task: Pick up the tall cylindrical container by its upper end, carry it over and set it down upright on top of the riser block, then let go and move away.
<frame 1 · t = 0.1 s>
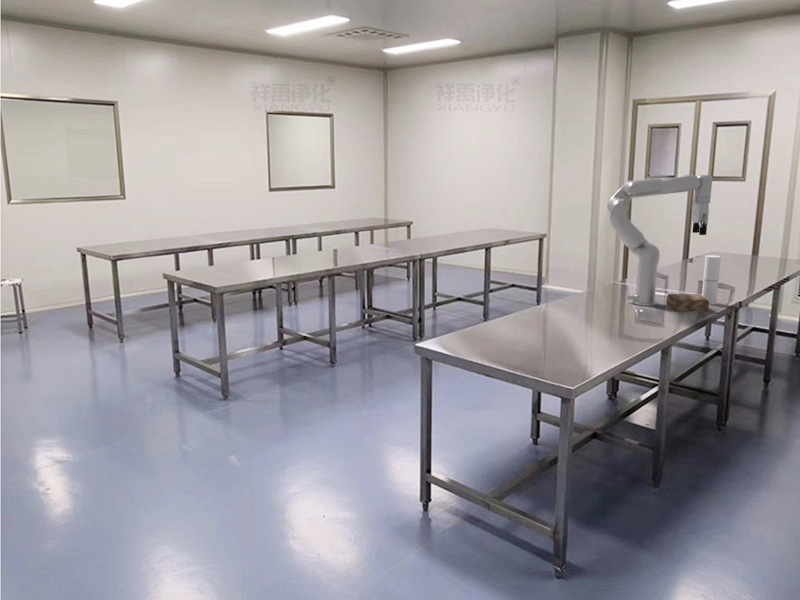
hand: (699, 233, 323), 37 cm above the table, tool pointing down, fingers open, 9 cm apart
riser: (686, 308, 322), on the table
cylindrical container: (708, 303, 332), on the table
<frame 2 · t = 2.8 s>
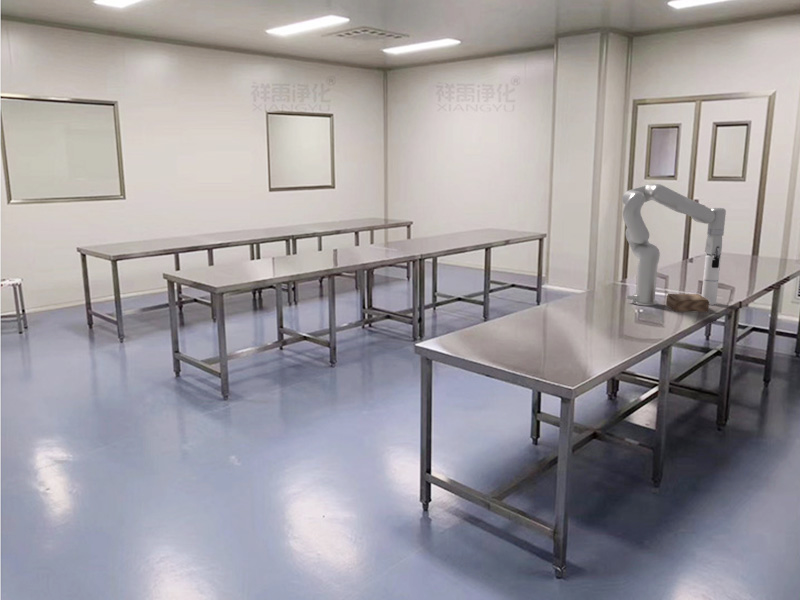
hand: (712, 266, 328), 20 cm above the table, tool pointing down, fingers closed on cylindrical container, 7 cm apart
cylindrical container: (708, 303, 332), on the table, touching gripper
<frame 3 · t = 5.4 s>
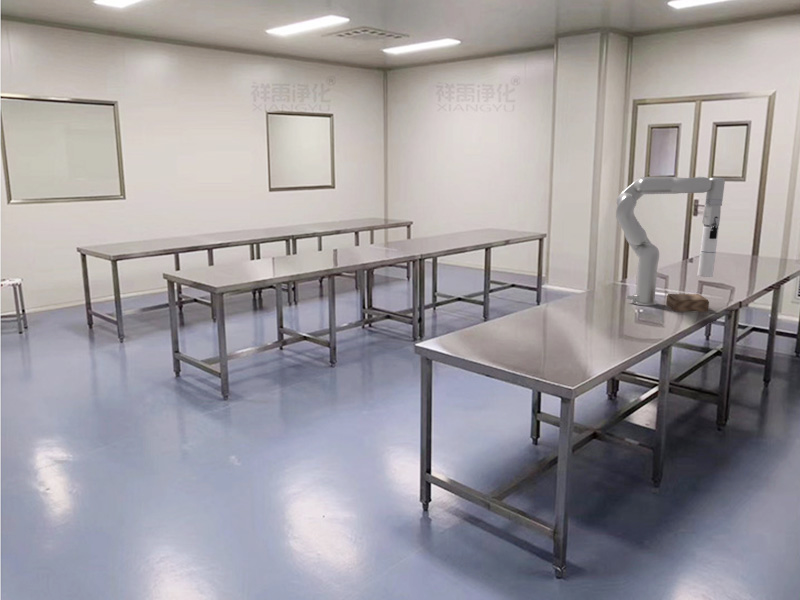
hand: (709, 237, 321), 35 cm above the table, tool pointing down, fingers closed on cylindrical container, 7 cm apart
cylindrical container: (704, 276, 326), point 15 cm above the table, touching gripper
when the fingers open (27 cm above the table, at t = 8.4 s): cylindrical container stays where it is, resting on riser.
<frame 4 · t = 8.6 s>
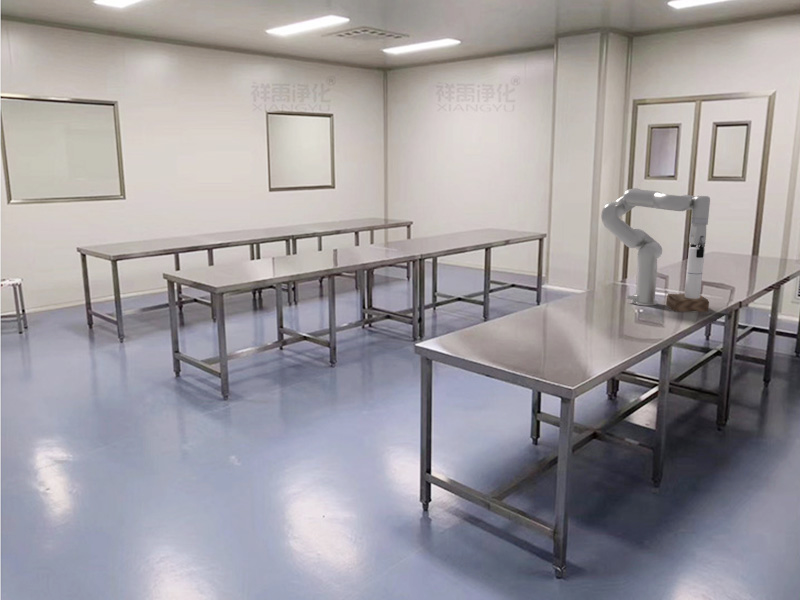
hand: (696, 255, 315), 27 cm above the table, tool pointing down, fingers open, 8 cm apart
cylindrical container: (692, 297, 320), point 6 cm above the table, touching riser
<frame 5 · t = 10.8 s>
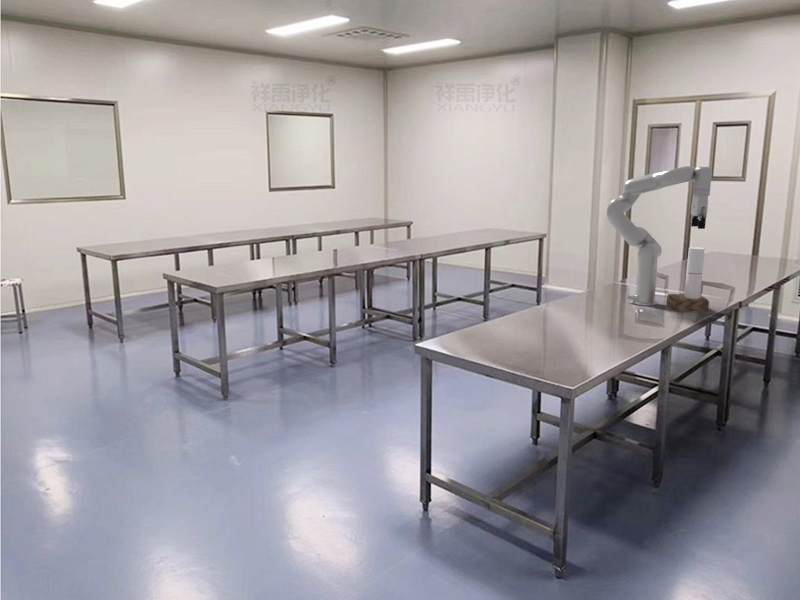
hand: (697, 227, 313), 41 cm above the table, tool pointing down, fingers open, 9 cm apart
nothing on the table moved.
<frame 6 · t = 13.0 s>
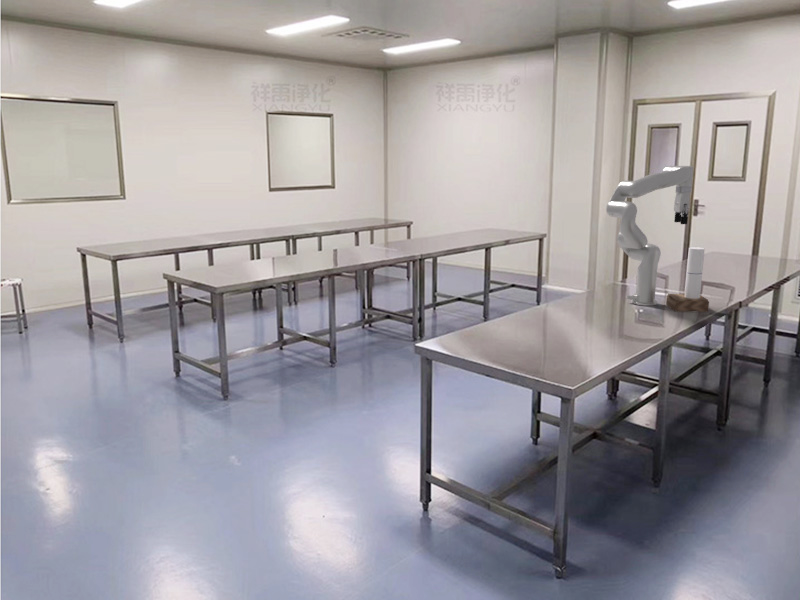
hand: (680, 223, 332), 41 cm above the table, tool pointing down, fingers open, 9 cm apart
nothing on the table moved.
at the end: cylindrical container inside the target area on the riser (1.0 cm from its centre), point 5.8 cm above the riser's base; cylindrical container tilted 0°; the gripper is holding nothing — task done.
